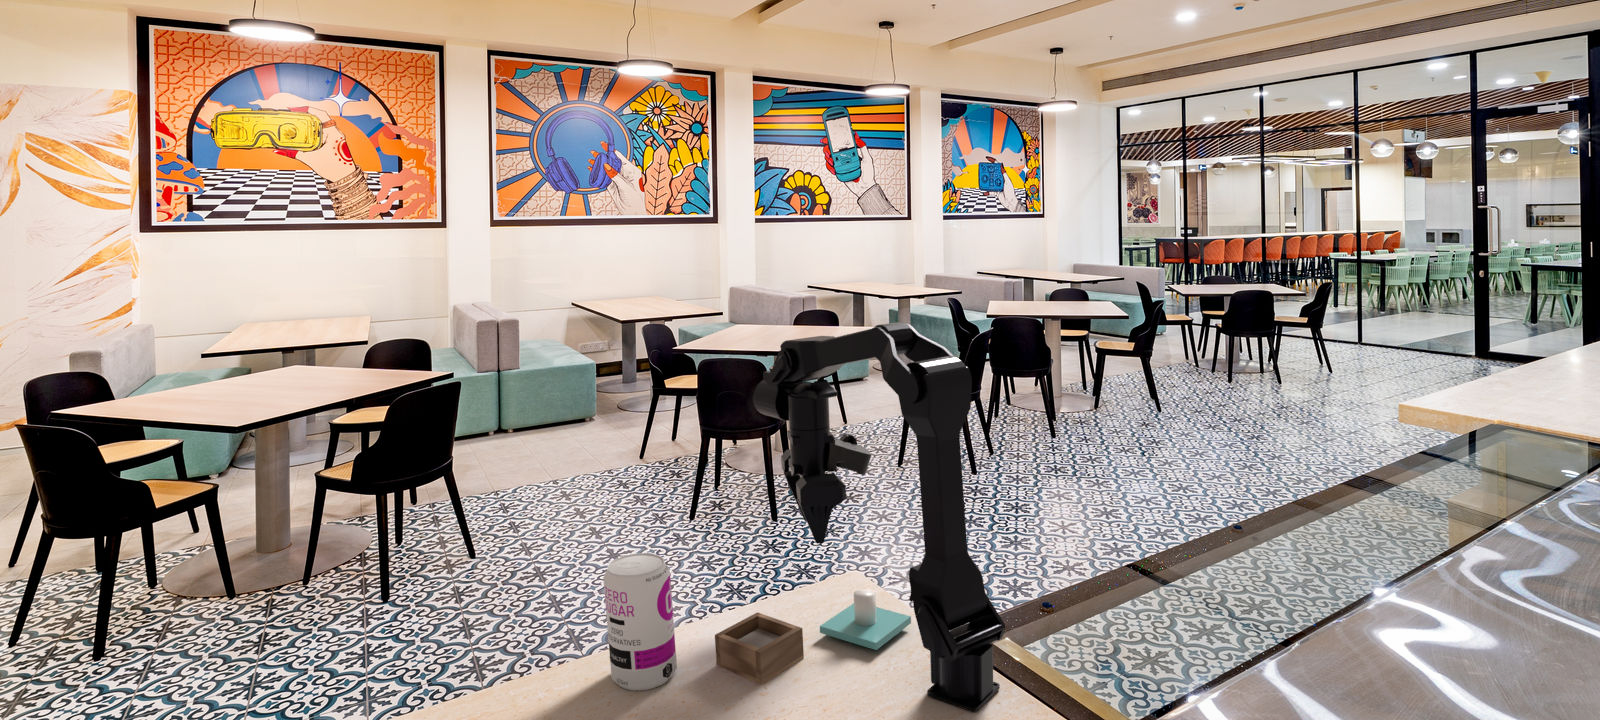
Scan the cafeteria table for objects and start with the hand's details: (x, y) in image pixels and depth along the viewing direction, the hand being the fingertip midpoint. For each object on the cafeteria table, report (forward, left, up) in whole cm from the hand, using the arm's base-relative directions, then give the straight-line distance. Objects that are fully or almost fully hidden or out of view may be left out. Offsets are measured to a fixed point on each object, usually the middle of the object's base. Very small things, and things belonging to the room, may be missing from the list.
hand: (813, 531), depth 124 cm
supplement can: (+7, +27, -12) cm, 31 cm away
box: (-3, +16, -12) cm, 20 cm away
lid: (-10, +2, -12) cm, 16 cm away
